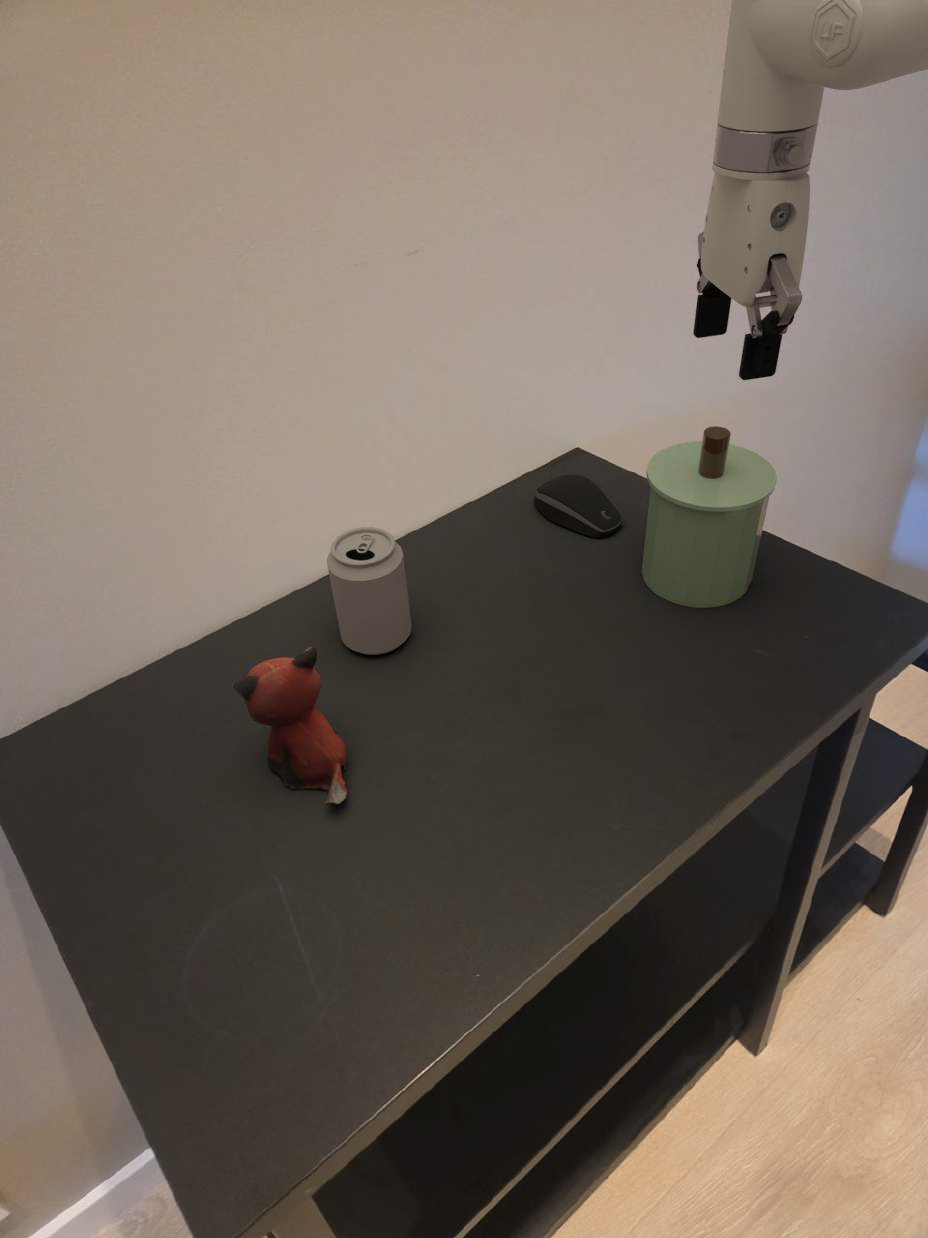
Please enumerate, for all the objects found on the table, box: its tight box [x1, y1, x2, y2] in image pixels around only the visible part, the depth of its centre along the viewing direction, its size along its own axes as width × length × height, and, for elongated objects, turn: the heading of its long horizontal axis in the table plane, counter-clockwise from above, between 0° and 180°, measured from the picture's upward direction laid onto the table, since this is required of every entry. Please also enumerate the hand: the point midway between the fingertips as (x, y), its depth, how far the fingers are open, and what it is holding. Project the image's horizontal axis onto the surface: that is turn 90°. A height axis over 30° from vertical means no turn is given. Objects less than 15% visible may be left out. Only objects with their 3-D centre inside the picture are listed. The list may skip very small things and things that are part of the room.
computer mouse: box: [533, 473, 623, 539], centre depth 105 cm, size 7×12×4 cm, turn 41°
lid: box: [645, 425, 778, 512], centre depth 87 cm, size 13×13×6 cm
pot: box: [641, 485, 770, 609], centre depth 93 cm, size 12×12×12 cm
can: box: [326, 526, 412, 656], centre depth 87 cm, size 8×8×12 cm
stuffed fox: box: [231, 645, 349, 805], centre depth 74 cm, size 8×11×12 cm
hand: (732, 355), depth 80 cm, fingers open, 9 cm apart
